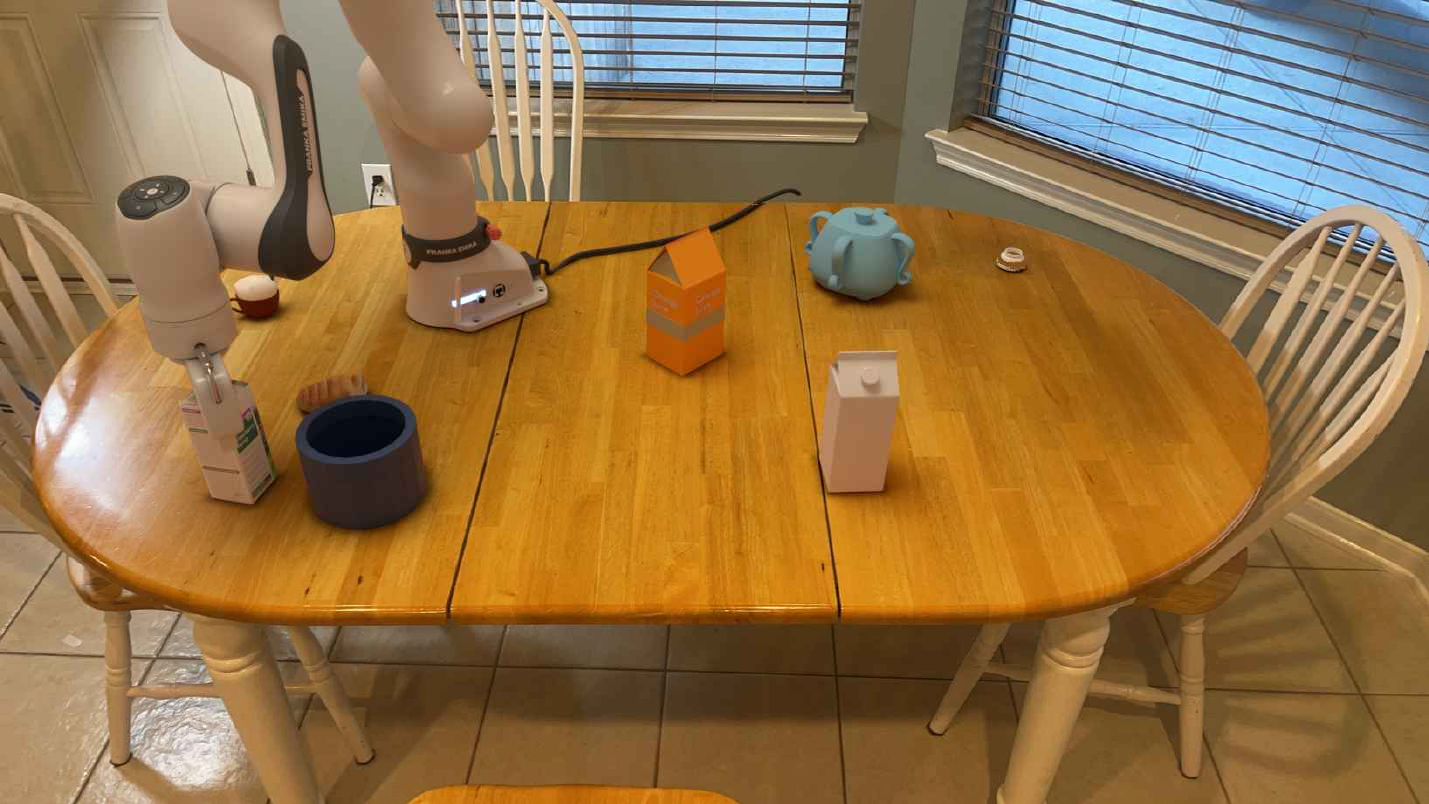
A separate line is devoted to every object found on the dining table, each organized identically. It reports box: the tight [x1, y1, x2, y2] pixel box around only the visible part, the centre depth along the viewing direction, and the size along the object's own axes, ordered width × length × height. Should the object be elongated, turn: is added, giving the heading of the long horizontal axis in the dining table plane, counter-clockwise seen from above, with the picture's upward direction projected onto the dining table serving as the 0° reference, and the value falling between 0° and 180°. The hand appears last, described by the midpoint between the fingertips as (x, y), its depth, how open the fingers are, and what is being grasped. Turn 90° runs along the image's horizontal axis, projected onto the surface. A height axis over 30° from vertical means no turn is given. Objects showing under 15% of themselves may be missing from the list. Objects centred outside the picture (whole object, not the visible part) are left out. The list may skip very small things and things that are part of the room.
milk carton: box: [818, 350, 900, 493], centre depth 126 cm, size 7×7×19 cm
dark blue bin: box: [294, 393, 427, 530], centre depth 123 cm, size 14×14×10 cm
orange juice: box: [645, 225, 727, 377], centre depth 148 cm, size 8×9×20 cm
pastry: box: [295, 372, 369, 414], centre depth 140 cm, size 9×7×4 cm
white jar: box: [995, 247, 1026, 272], centre depth 180 cm, size 5×3×5 cm
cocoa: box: [229, 274, 280, 319], centre depth 156 cm, size 10×6×12 cm, turn 104°
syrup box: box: [177, 378, 278, 505], centre depth 122 cm, size 6×6×14 cm
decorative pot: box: [804, 206, 916, 301], centre depth 170 cm, size 16×16×14 cm
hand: (221, 426), depth 120 cm, fingers open, 8 cm apart
